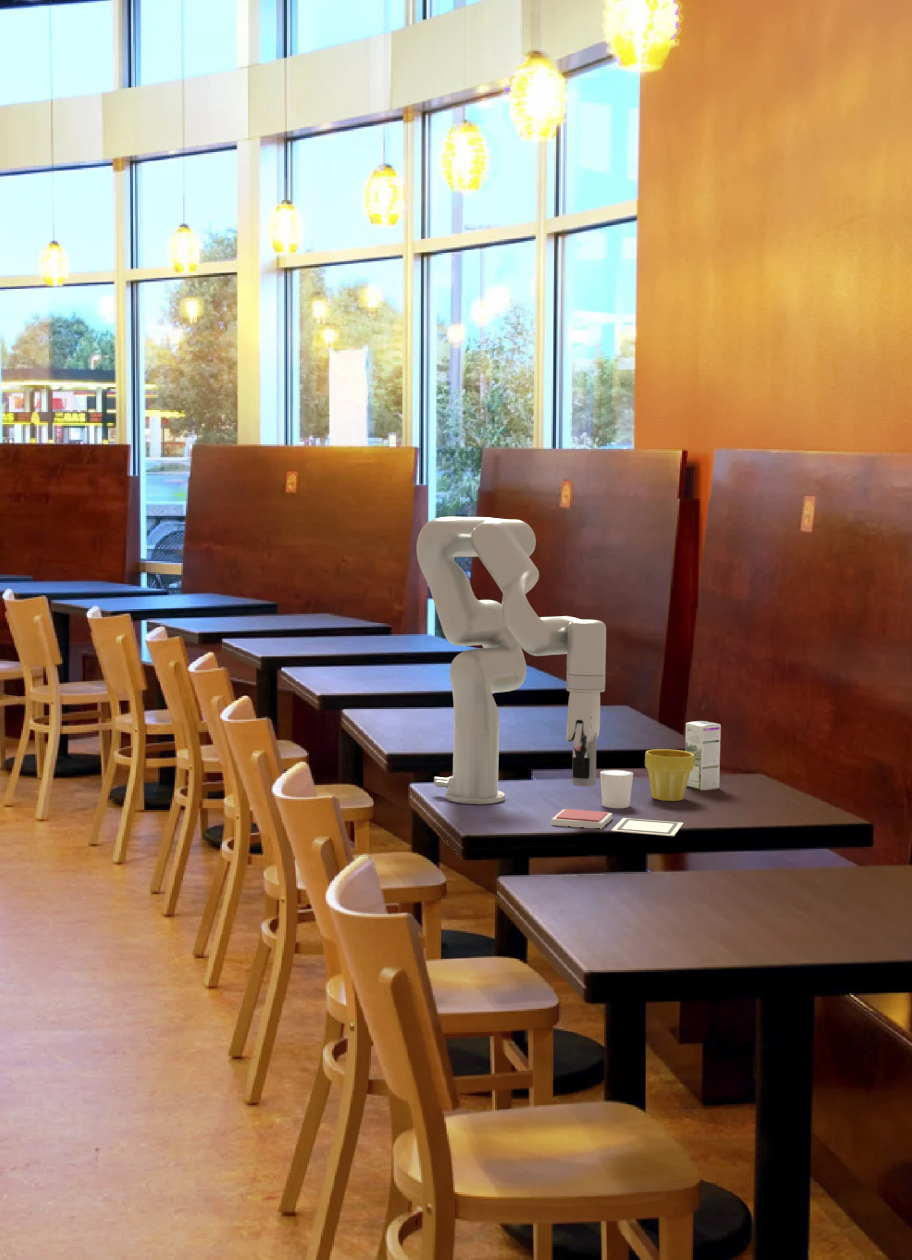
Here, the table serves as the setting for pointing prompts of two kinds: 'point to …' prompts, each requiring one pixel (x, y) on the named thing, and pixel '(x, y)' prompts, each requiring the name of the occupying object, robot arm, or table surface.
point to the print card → (647, 827)
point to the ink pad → (581, 818)
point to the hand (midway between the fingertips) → (583, 774)
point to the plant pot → (668, 773)
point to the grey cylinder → (592, 771)
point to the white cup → (616, 788)
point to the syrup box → (704, 754)
